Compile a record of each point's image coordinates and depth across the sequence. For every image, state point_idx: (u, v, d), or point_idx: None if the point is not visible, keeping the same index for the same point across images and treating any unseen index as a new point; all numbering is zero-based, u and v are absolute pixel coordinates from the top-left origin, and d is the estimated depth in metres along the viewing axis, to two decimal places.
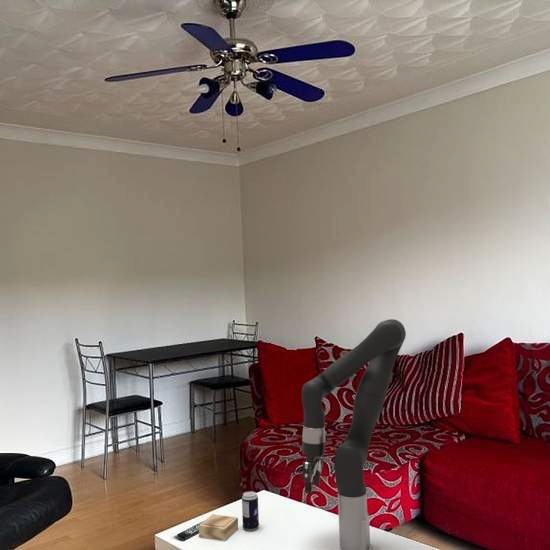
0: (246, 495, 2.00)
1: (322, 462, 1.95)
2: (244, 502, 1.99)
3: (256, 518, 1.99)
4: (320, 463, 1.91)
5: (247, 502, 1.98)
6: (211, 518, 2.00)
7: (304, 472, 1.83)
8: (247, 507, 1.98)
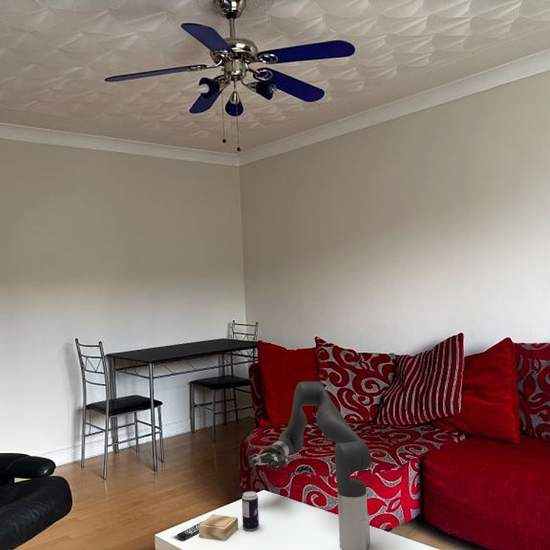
0: (246, 495, 2.00)
1: (283, 458, 2.16)
2: (244, 502, 1.99)
3: (256, 518, 1.99)
4: (275, 455, 2.18)
5: (247, 502, 1.98)
6: (211, 518, 2.00)
7: None
8: (247, 507, 1.98)
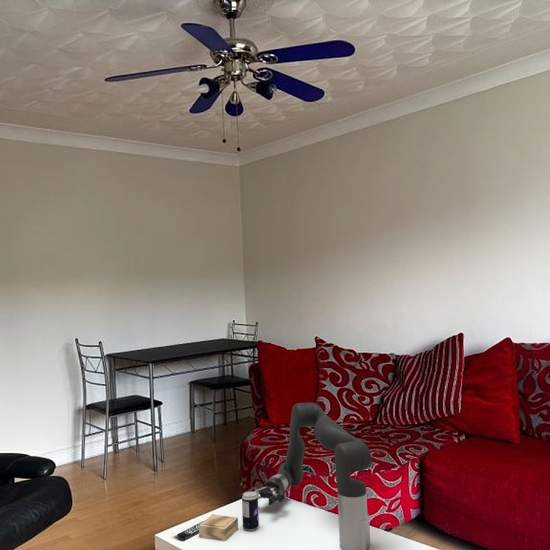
0: (246, 495, 2.00)
1: (282, 493, 2.12)
2: (244, 502, 1.99)
3: (256, 518, 1.99)
4: (273, 490, 2.14)
5: (247, 502, 1.98)
6: (211, 518, 2.00)
7: None
8: (247, 507, 1.98)
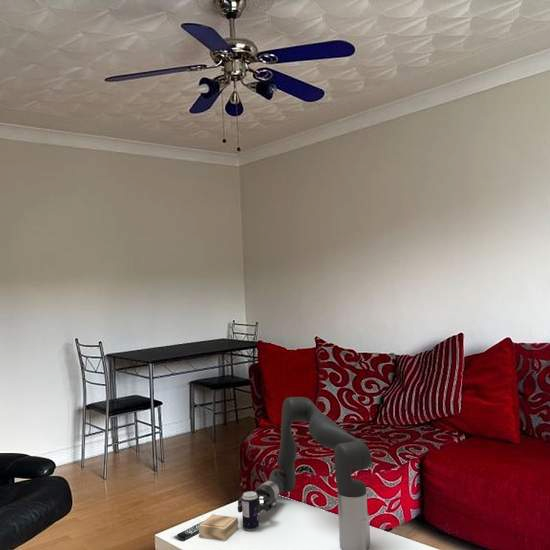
0: (246, 495, 2.00)
1: (270, 502, 2.03)
2: (244, 502, 1.99)
3: (256, 518, 1.99)
4: (262, 498, 2.05)
5: (247, 502, 1.98)
6: (211, 518, 2.00)
7: None
8: (247, 507, 1.98)
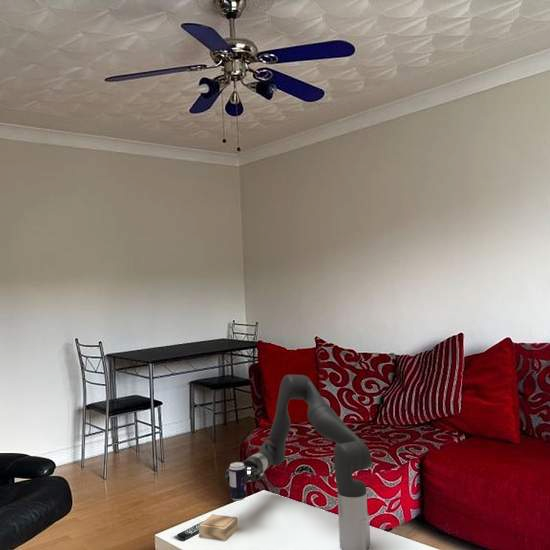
0: (233, 465, 2.00)
1: (257, 472, 2.02)
2: (231, 472, 1.99)
3: (243, 488, 1.99)
4: (250, 469, 2.05)
5: (234, 472, 1.98)
6: (211, 518, 2.00)
7: None
8: (234, 477, 1.98)
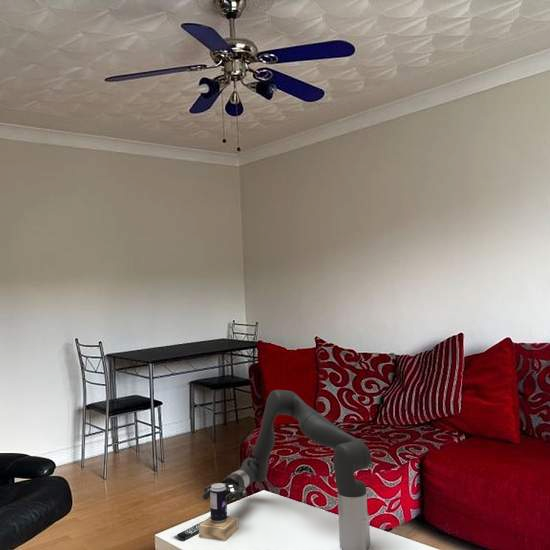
0: (214, 486, 1.97)
1: (240, 490, 2.00)
2: (212, 493, 1.96)
3: (224, 510, 1.96)
4: (232, 486, 2.03)
5: (215, 493, 1.96)
6: None
7: None
8: (214, 498, 1.96)
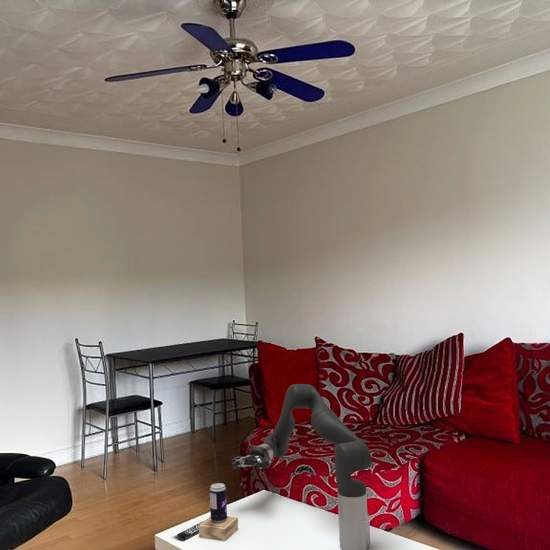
0: (214, 487, 1.97)
1: (267, 459, 2.13)
2: (211, 493, 1.96)
3: (224, 510, 1.96)
4: (258, 457, 2.16)
5: (215, 493, 1.96)
6: None
7: None
8: (214, 498, 1.96)
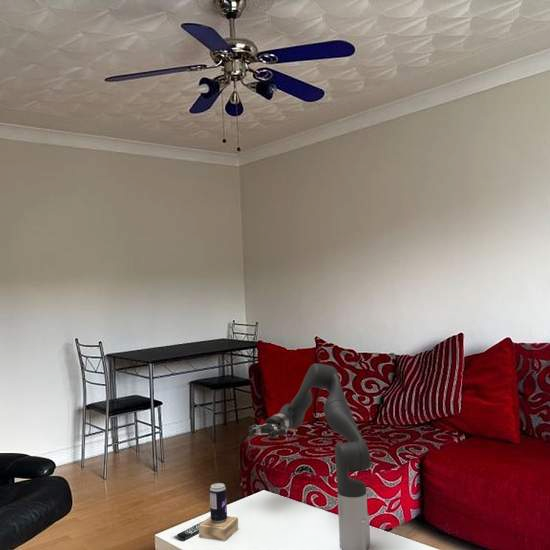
0: (214, 487, 1.97)
1: (283, 428, 2.16)
2: (211, 493, 1.96)
3: (224, 510, 1.96)
4: (275, 425, 2.18)
5: (215, 493, 1.96)
6: None
7: None
8: (214, 498, 1.96)
